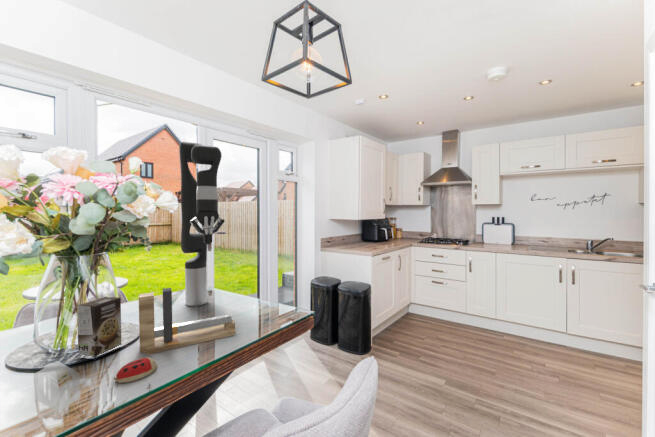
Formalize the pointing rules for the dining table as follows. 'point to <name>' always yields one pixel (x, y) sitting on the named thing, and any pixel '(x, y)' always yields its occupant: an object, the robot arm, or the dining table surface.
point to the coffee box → (99, 326)
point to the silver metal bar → (195, 325)
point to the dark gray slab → (167, 314)
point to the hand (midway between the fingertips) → (207, 244)
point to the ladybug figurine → (136, 370)
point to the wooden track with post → (179, 340)
